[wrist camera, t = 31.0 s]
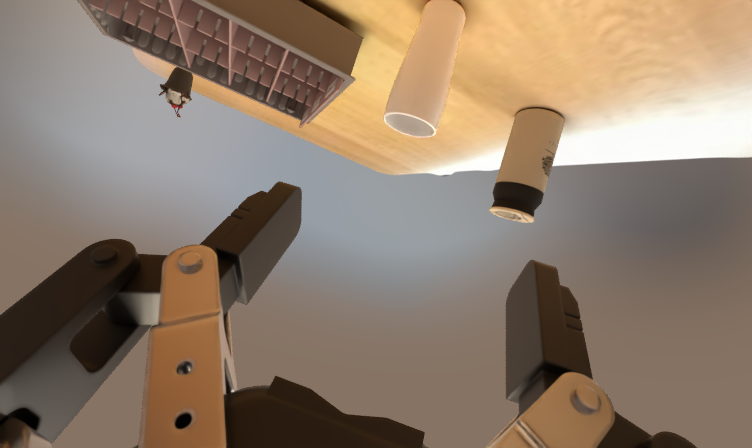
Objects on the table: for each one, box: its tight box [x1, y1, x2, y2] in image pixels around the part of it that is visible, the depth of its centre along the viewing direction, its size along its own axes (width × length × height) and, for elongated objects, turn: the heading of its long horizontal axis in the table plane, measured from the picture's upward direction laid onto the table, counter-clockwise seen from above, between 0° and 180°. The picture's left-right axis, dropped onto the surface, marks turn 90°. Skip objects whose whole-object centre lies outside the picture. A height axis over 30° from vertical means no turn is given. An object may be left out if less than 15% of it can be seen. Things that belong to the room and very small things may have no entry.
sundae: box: [159, 67, 193, 117], centre depth 81 cm, size 7×7×15 cm
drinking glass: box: [383, 0, 466, 138], centre depth 42 cm, size 7×7×15 cm
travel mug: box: [489, 108, 564, 223], centre depth 60 cm, size 8×8×18 cm
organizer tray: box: [77, 0, 363, 128], centre depth 57 cm, size 32×40×10 cm
